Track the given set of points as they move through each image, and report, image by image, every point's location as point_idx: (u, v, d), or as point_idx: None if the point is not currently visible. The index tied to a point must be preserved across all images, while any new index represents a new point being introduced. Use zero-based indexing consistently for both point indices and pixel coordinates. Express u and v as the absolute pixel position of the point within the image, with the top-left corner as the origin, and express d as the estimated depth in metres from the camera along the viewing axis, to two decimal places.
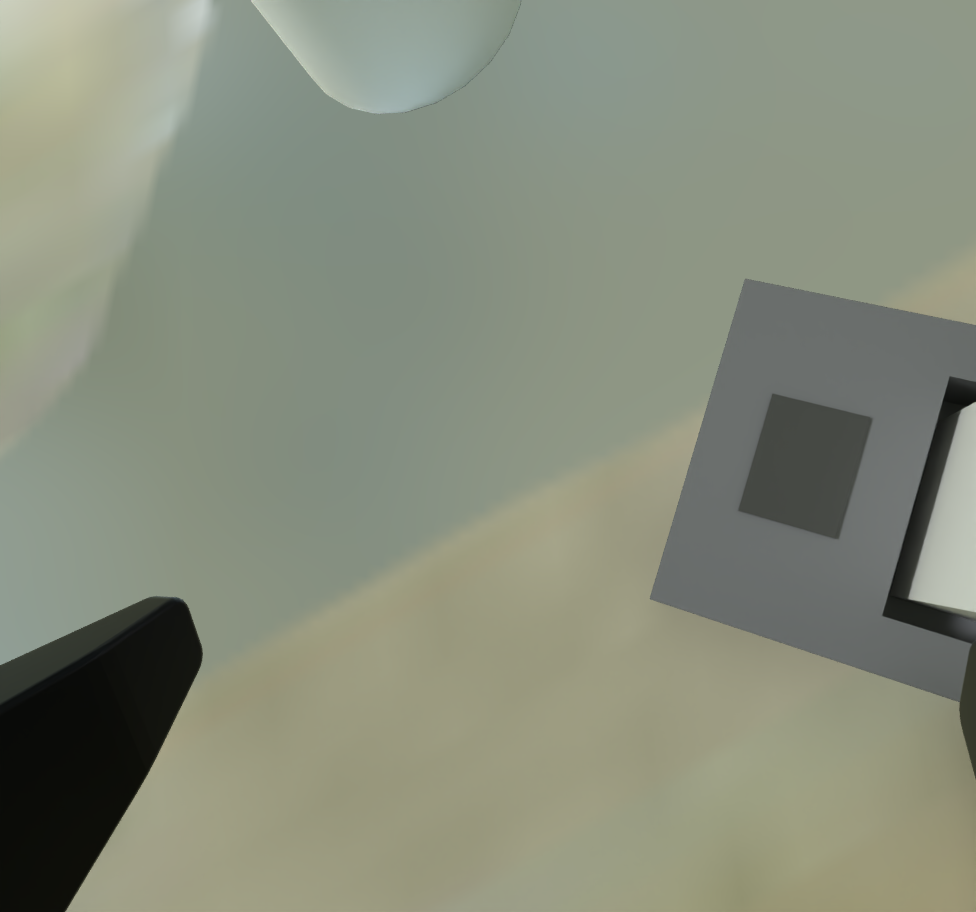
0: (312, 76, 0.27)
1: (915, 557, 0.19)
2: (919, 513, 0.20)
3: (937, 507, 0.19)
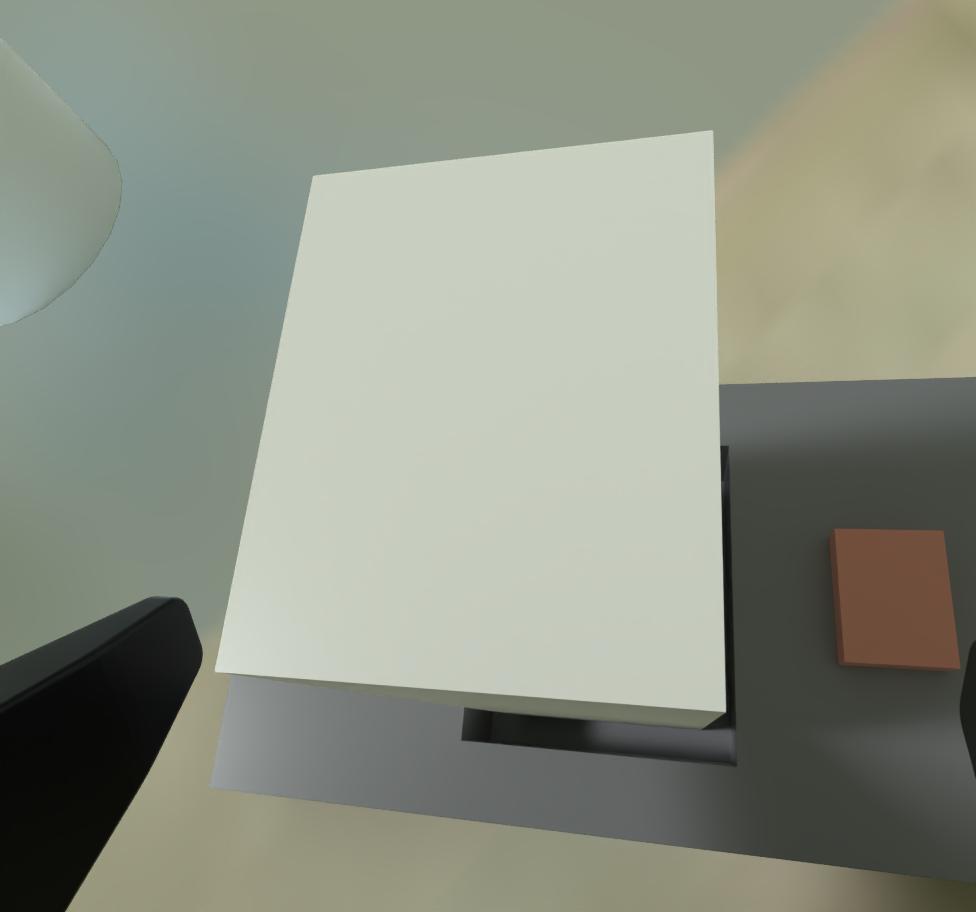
0: None
1: None
2: None
3: None
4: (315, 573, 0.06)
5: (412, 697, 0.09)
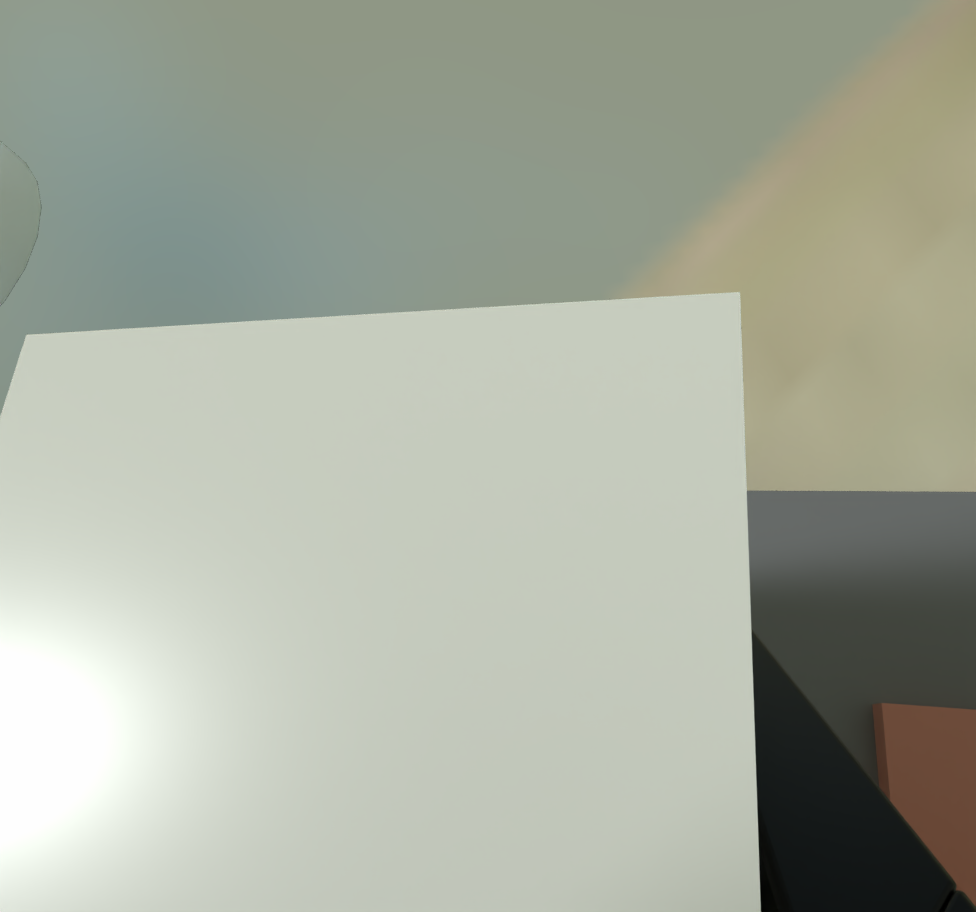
0: None
1: None
2: None
3: None
4: None
5: None
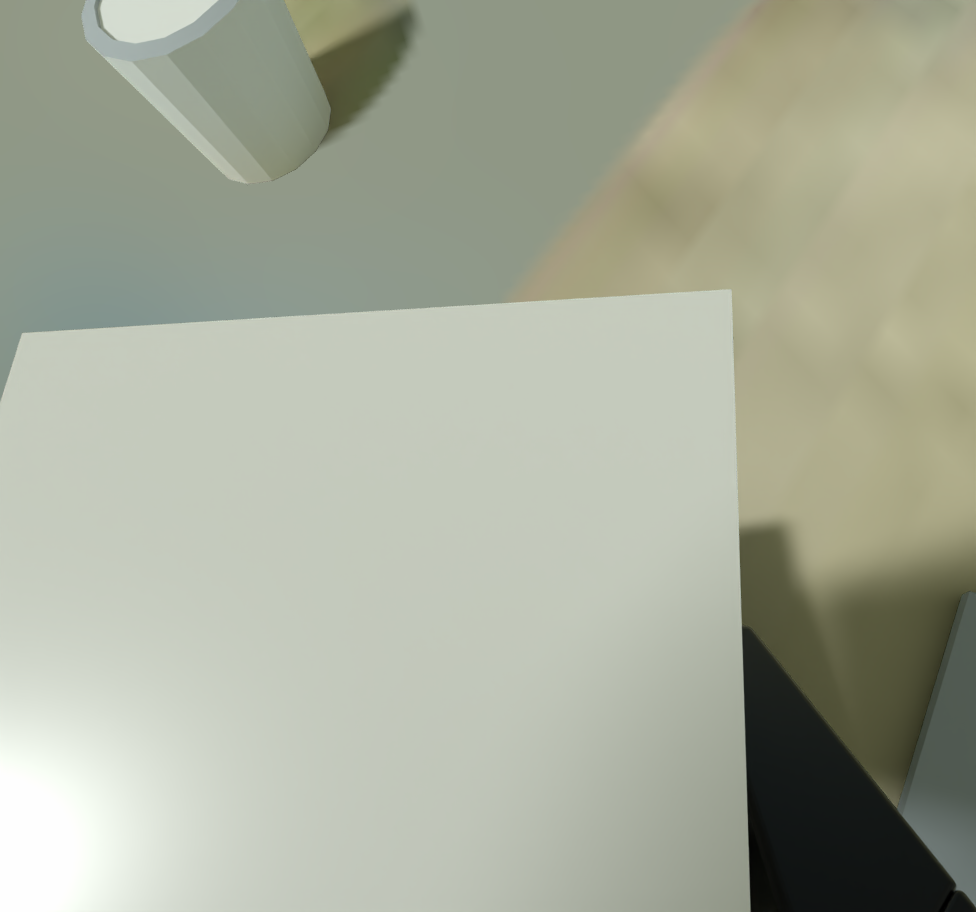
0: None
1: None
2: None
3: None
4: None
5: None
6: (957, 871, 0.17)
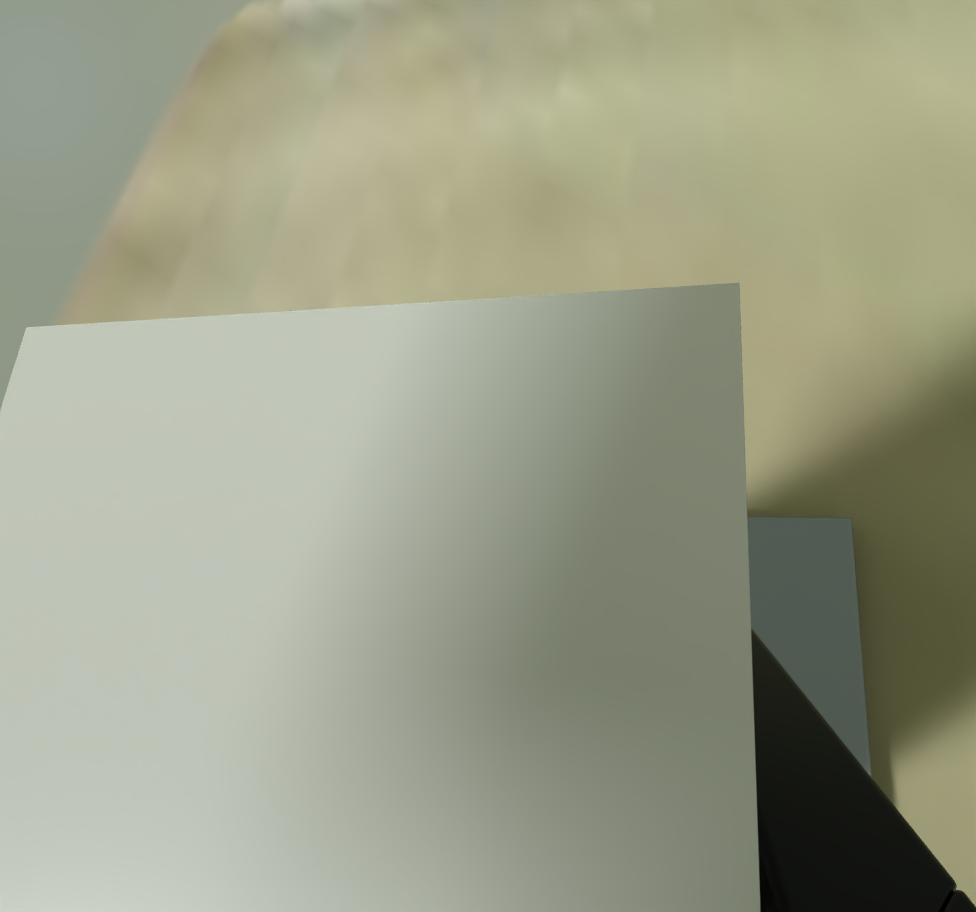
0: None
1: None
2: None
3: None
4: None
5: None
6: None
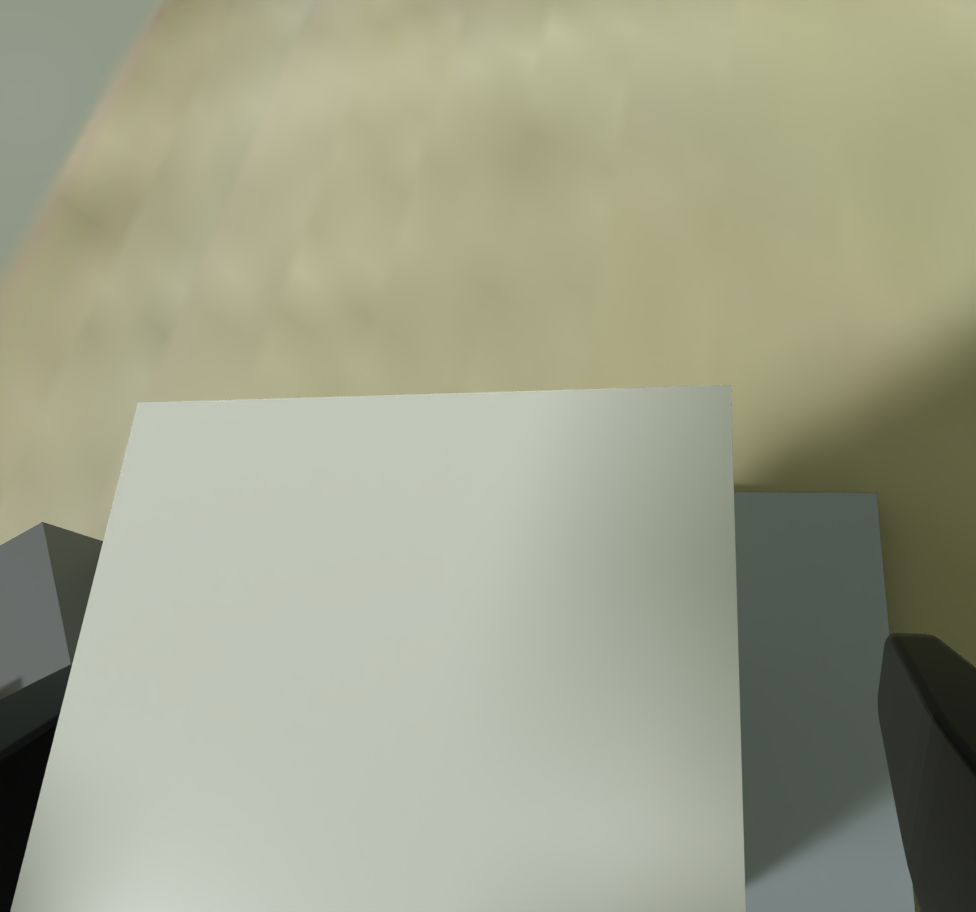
0: None
1: None
2: None
3: None
4: None
5: None
6: None
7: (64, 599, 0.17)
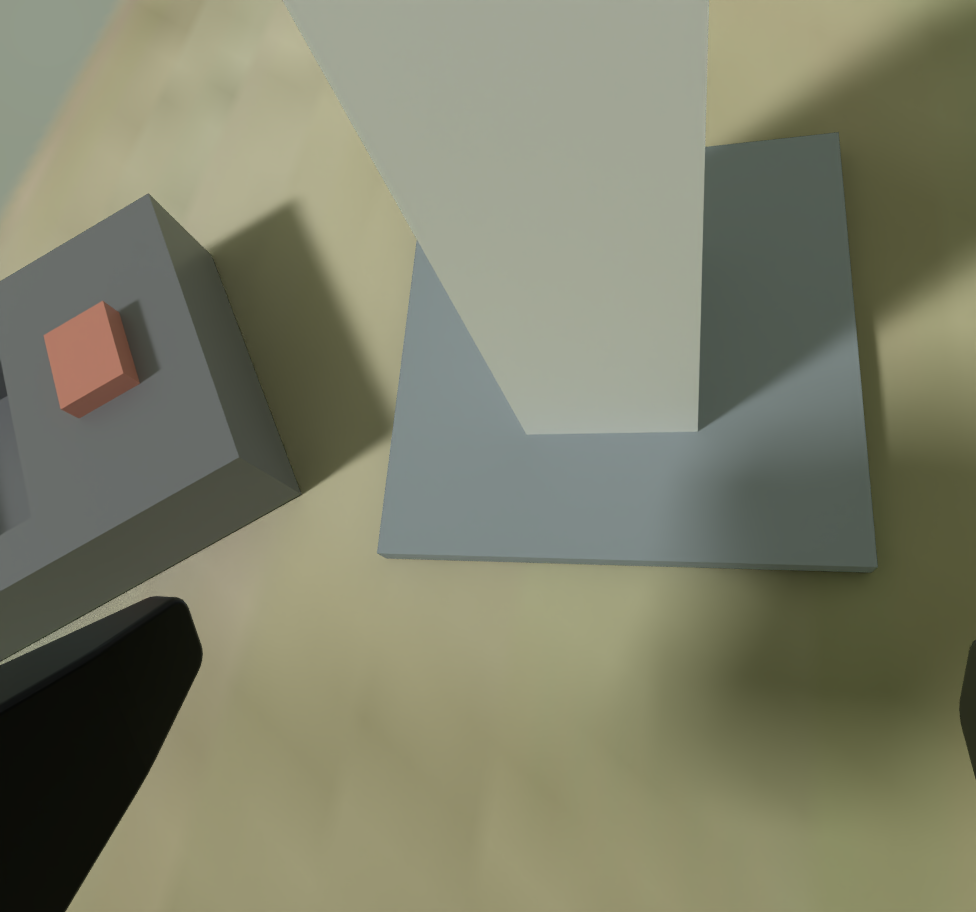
0: None
1: None
2: None
3: None
4: None
5: (437, 205, 0.10)
6: (448, 378, 0.19)
7: (170, 247, 0.20)
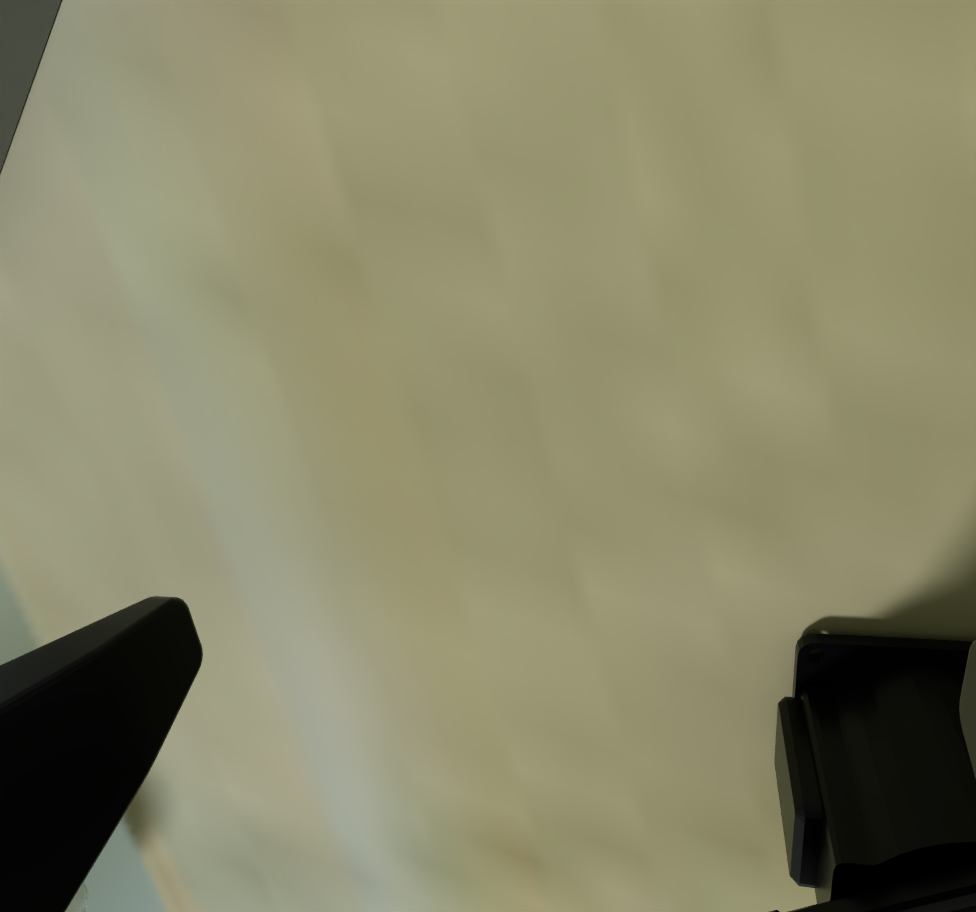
0: None
1: None
2: None
3: None
4: None
5: None
6: None
7: None
